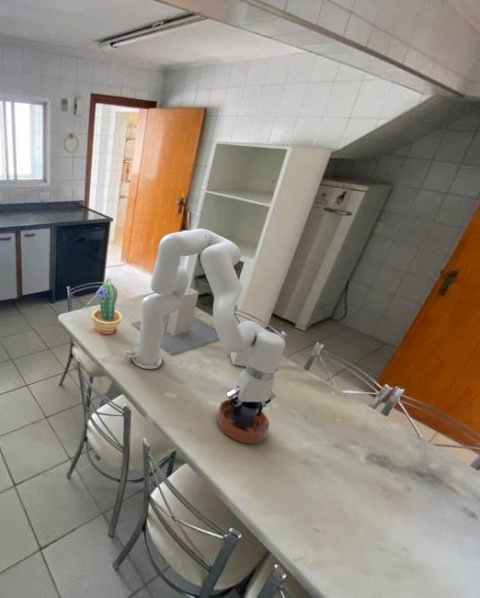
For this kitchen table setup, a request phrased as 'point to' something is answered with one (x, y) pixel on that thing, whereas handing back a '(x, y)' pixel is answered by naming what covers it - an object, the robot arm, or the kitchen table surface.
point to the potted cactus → (106, 309)
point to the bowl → (238, 432)
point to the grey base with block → (185, 327)
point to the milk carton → (241, 357)
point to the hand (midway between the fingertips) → (244, 412)
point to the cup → (247, 414)
